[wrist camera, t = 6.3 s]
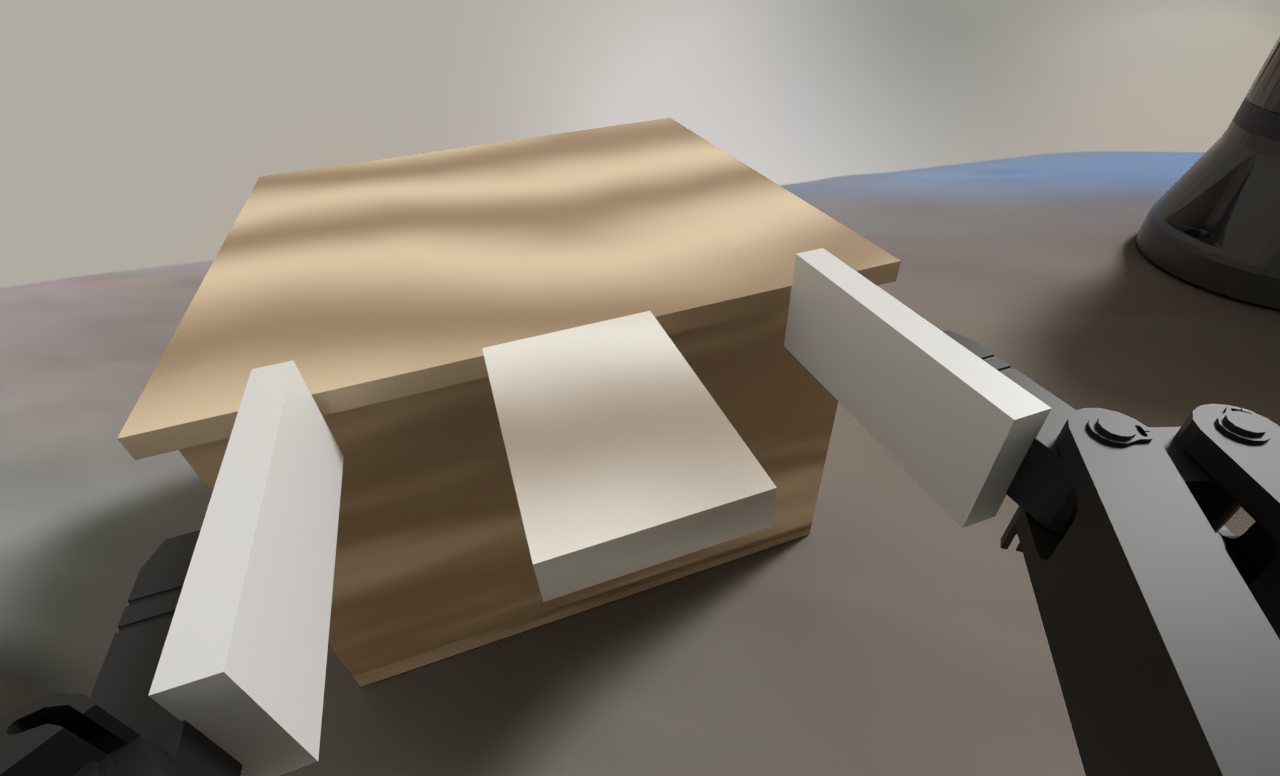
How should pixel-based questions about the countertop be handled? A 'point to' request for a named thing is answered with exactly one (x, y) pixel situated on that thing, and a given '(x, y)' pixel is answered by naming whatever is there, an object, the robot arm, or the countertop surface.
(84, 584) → the countertop surface
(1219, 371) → the countertop surface
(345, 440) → the carton
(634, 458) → the flap
